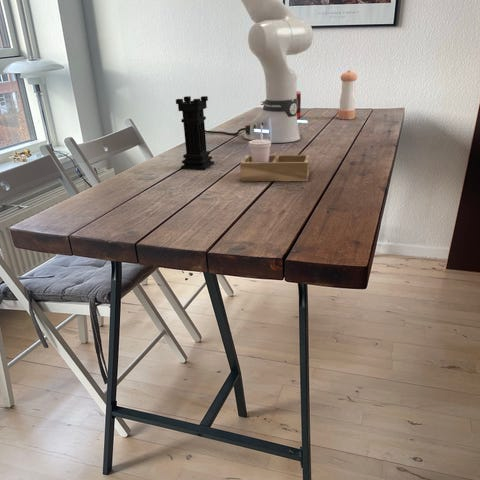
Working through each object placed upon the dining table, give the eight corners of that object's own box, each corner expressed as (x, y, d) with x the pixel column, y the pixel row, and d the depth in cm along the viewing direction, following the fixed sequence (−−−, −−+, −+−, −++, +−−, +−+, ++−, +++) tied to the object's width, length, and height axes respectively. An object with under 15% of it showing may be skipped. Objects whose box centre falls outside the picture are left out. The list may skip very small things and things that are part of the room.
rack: (246, 172, 149) (246, 155, 146) (309, 172, 146) (309, 154, 143) (241, 181, 141) (240, 163, 138) (307, 181, 137) (307, 162, 135)
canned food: (281, 117, 234) (281, 91, 228) (298, 116, 234) (299, 90, 229) (284, 119, 227) (284, 93, 222) (301, 118, 228) (302, 92, 222)
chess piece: (214, 163, 160) (209, 96, 150) (204, 169, 154) (198, 99, 144) (191, 162, 163) (185, 96, 152) (181, 168, 156) (173, 99, 146)
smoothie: (270, 179, 141) (269, 127, 134) (247, 179, 142) (245, 127, 135) (273, 173, 146) (272, 123, 139) (251, 173, 147) (250, 123, 140)
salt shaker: (342, 116, 228) (345, 69, 218) (357, 117, 224) (360, 69, 215) (335, 118, 223) (337, 71, 213) (350, 119, 219) (353, 71, 210)
